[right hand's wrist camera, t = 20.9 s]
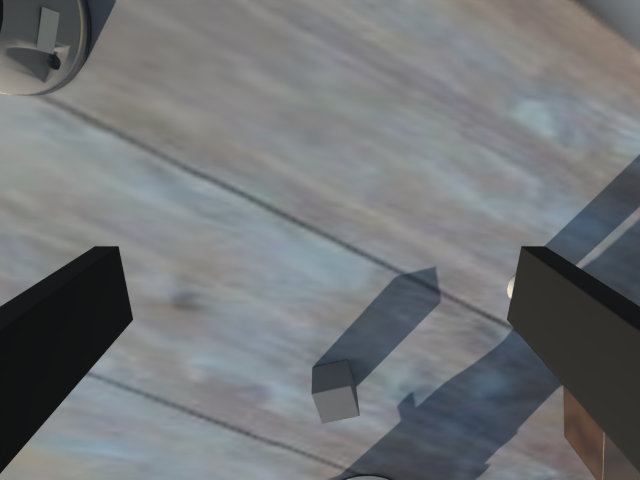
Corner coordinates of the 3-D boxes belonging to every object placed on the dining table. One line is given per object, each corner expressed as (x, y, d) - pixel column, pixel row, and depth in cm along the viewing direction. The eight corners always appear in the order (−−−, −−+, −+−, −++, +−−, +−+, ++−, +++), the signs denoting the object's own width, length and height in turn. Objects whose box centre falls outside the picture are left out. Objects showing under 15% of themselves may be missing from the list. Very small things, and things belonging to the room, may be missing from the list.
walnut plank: (561, 296, 47) (607, 333, 40) (602, 288, 47) (656, 323, 39) (564, 436, 55) (602, 488, 48) (599, 430, 55) (643, 482, 47)
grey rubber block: (312, 367, 51) (311, 393, 46) (347, 359, 51) (350, 385, 46) (321, 395, 53) (321, 423, 48) (356, 387, 52) (359, 416, 47)
